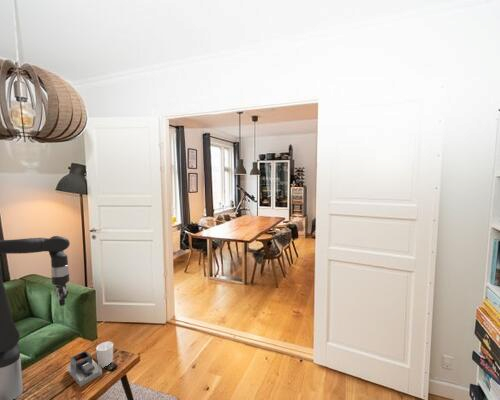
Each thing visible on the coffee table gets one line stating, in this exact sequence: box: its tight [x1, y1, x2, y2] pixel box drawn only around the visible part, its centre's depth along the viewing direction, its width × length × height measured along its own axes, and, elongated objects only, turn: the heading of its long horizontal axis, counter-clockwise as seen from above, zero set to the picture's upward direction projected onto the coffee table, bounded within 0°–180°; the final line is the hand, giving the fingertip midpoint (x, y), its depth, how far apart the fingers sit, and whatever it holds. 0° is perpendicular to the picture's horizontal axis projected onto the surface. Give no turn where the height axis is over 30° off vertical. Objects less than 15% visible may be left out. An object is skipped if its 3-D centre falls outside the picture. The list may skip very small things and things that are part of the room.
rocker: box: [81, 362, 95, 373], centre depth 132 cm, size 4×7×2 cm, turn 53°
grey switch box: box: [67, 349, 103, 388], centre depth 135 cm, size 10×16×7 cm, turn 53°
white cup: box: [96, 340, 114, 369], centre depth 141 cm, size 8×8×10 cm
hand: (62, 305), depth 140 cm, fingers closed
